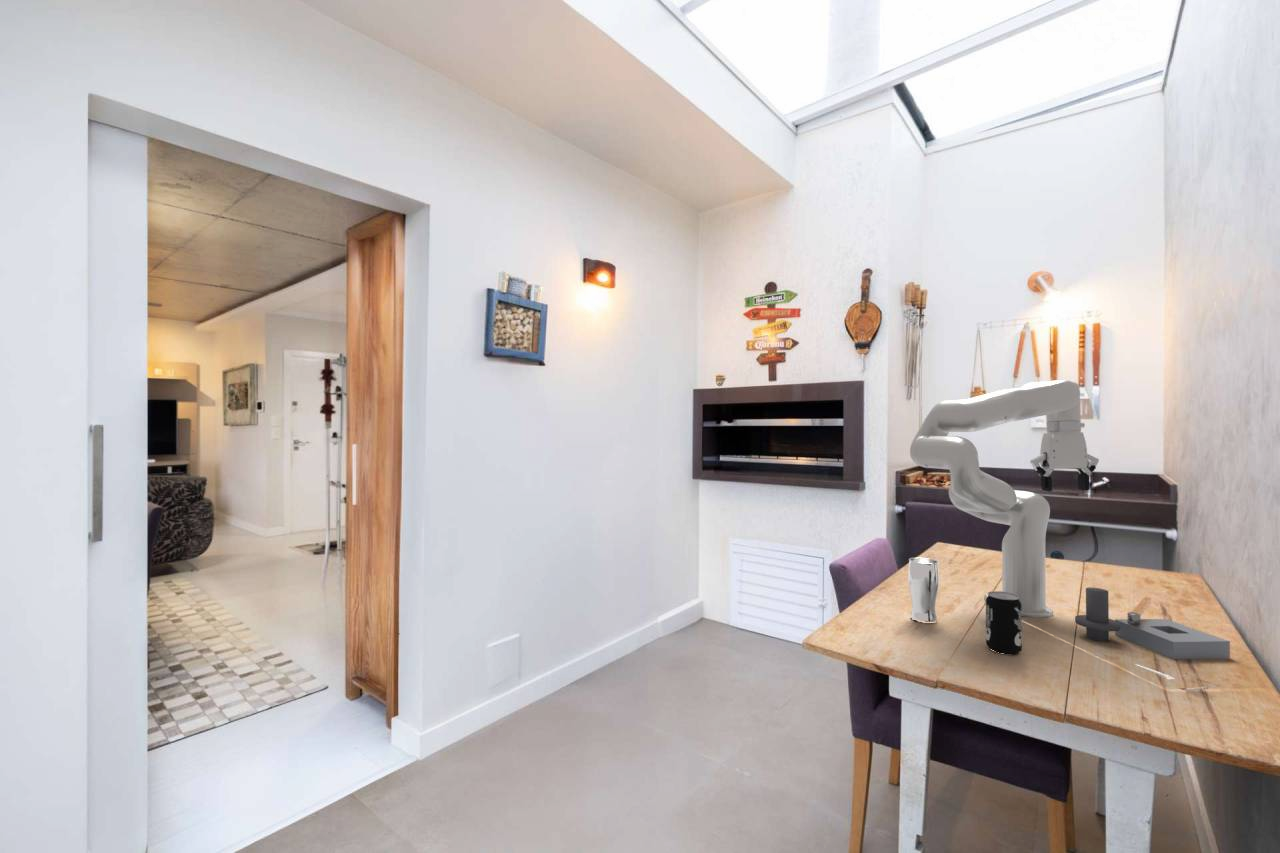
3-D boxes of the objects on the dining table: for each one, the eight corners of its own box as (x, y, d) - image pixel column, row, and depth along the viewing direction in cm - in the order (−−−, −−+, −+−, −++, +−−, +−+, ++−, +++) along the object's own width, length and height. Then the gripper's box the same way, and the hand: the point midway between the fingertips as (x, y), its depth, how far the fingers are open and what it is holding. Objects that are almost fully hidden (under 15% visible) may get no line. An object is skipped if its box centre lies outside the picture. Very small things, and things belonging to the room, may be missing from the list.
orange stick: (1139, 626, 127) (1139, 616, 127) (1126, 623, 128) (1126, 613, 128) (1154, 607, 140) (1154, 598, 140) (1142, 605, 141) (1142, 596, 141)
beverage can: (1010, 658, 120) (1010, 600, 120) (979, 647, 125) (979, 593, 125) (1028, 652, 123) (1028, 596, 123) (997, 642, 128) (997, 589, 128)
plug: (1094, 647, 125) (1094, 595, 126) (1066, 634, 133) (1066, 585, 134) (1130, 647, 126) (1129, 594, 126) (1099, 634, 134) (1099, 584, 134)
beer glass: (909, 622, 142) (909, 562, 142) (907, 614, 148) (907, 556, 148) (940, 626, 139) (940, 564, 139) (937, 617, 146) (937, 558, 146)
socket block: (1173, 661, 118) (1173, 641, 118) (1115, 636, 132) (1115, 619, 132) (1229, 660, 118) (1229, 641, 118) (1165, 636, 132) (1165, 618, 132)
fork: (1110, 656, 123) (1109, 647, 123) (1214, 697, 103) (1213, 686, 103) (1096, 657, 122) (1096, 648, 122) (1198, 698, 102) (1197, 687, 102)
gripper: (1086, 426, 159) (1087, 488, 159) (1022, 428, 160) (1024, 489, 160) (1106, 426, 152) (1108, 491, 152) (1039, 428, 152) (1041, 492, 152)
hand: (1065, 490), depth 156 cm, fingers open, 9 cm apart
